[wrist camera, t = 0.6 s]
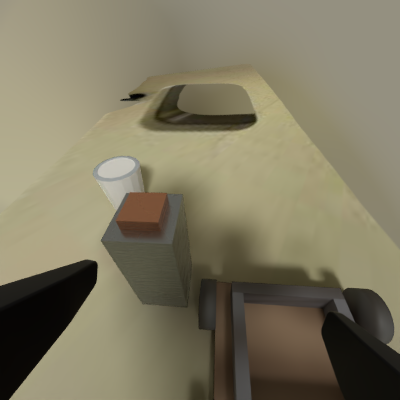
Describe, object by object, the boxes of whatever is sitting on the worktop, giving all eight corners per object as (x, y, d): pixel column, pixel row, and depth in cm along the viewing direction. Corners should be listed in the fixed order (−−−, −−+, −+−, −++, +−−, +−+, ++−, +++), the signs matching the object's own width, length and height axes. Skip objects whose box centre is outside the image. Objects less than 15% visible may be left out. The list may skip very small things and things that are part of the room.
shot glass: (112, 221, 31) (94, 186, 26) (106, 195, 35) (90, 162, 31) (154, 206, 33) (144, 172, 28) (144, 184, 38) (134, 151, 33)
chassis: (497, 625, 10) (623, 720, 7) (184, 567, 11) (174, 625, 8) (348, 296, 21) (371, 277, 18) (203, 286, 23) (201, 268, 20)
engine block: (187, 307, 21) (169, 234, 12) (142, 303, 22) (95, 231, 13) (191, 264, 25) (181, 185, 16) (153, 262, 25) (122, 184, 16)
